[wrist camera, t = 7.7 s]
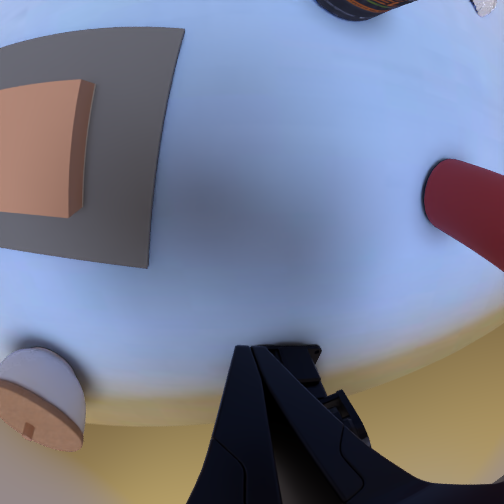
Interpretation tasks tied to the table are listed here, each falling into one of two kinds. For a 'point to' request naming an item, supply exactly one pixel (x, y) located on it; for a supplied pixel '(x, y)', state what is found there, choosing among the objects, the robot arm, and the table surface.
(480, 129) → the table surface
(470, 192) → the beer can
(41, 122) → the tile
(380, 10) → the pill bottle
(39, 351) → the lidded jar
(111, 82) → the mat
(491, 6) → the pincushion
